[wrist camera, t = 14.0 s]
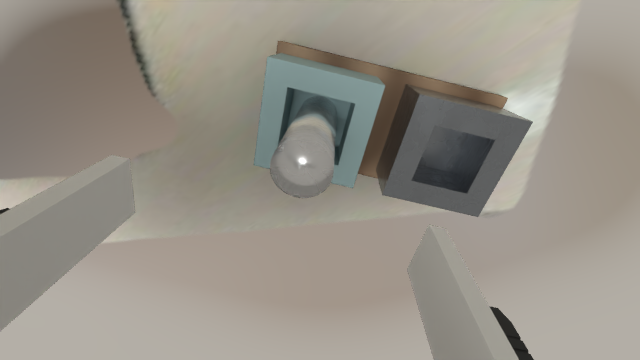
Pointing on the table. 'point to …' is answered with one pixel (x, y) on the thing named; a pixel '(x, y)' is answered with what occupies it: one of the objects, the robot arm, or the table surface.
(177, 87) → the table surface
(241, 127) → the table surface
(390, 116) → the tool board
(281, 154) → the translucent peg
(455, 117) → the socket block
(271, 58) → the teal square holder
